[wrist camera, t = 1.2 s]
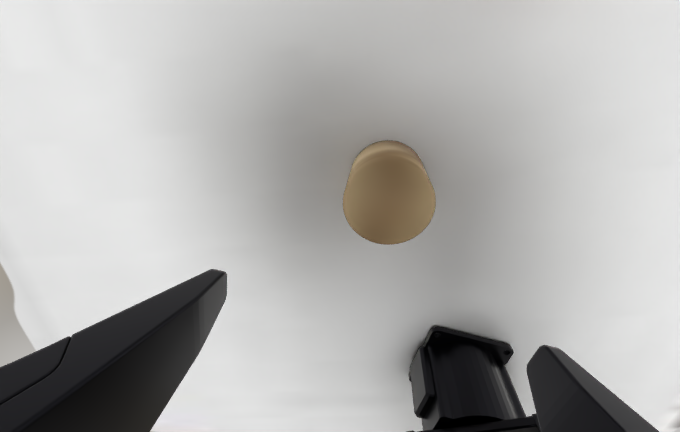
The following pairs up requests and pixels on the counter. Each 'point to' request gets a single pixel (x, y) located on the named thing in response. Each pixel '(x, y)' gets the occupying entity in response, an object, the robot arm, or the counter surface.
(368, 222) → the tan wooden cylinder
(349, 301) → the counter surface
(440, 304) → the counter surface
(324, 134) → the counter surface
